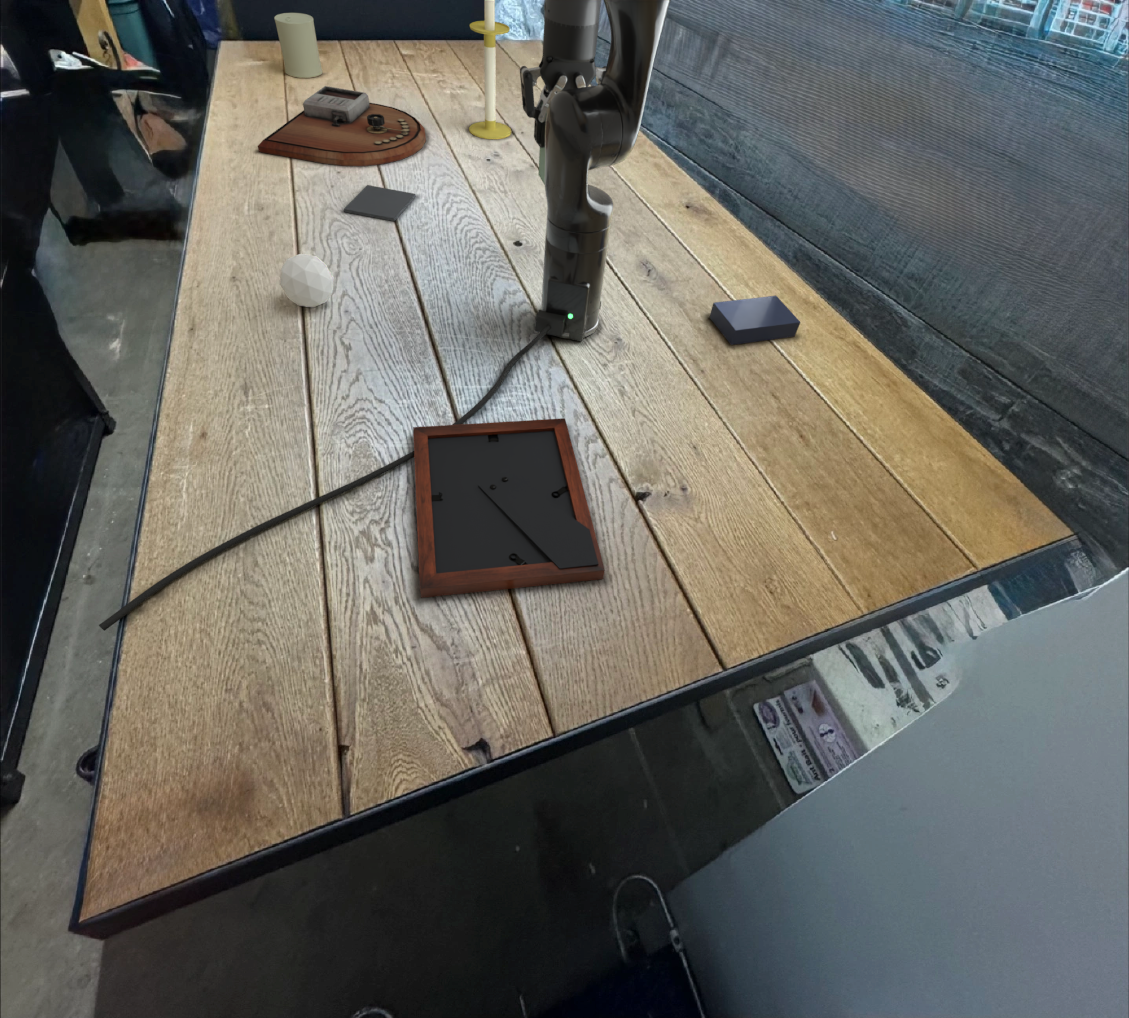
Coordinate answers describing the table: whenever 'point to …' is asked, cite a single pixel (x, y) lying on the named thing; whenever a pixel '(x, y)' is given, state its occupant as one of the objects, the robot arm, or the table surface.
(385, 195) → the felt pad
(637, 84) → the robot arm
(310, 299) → the geometric ball
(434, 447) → the picture frame
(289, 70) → the can
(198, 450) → the table surface
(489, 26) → the cream and yellow pole
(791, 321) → the rectangular block
